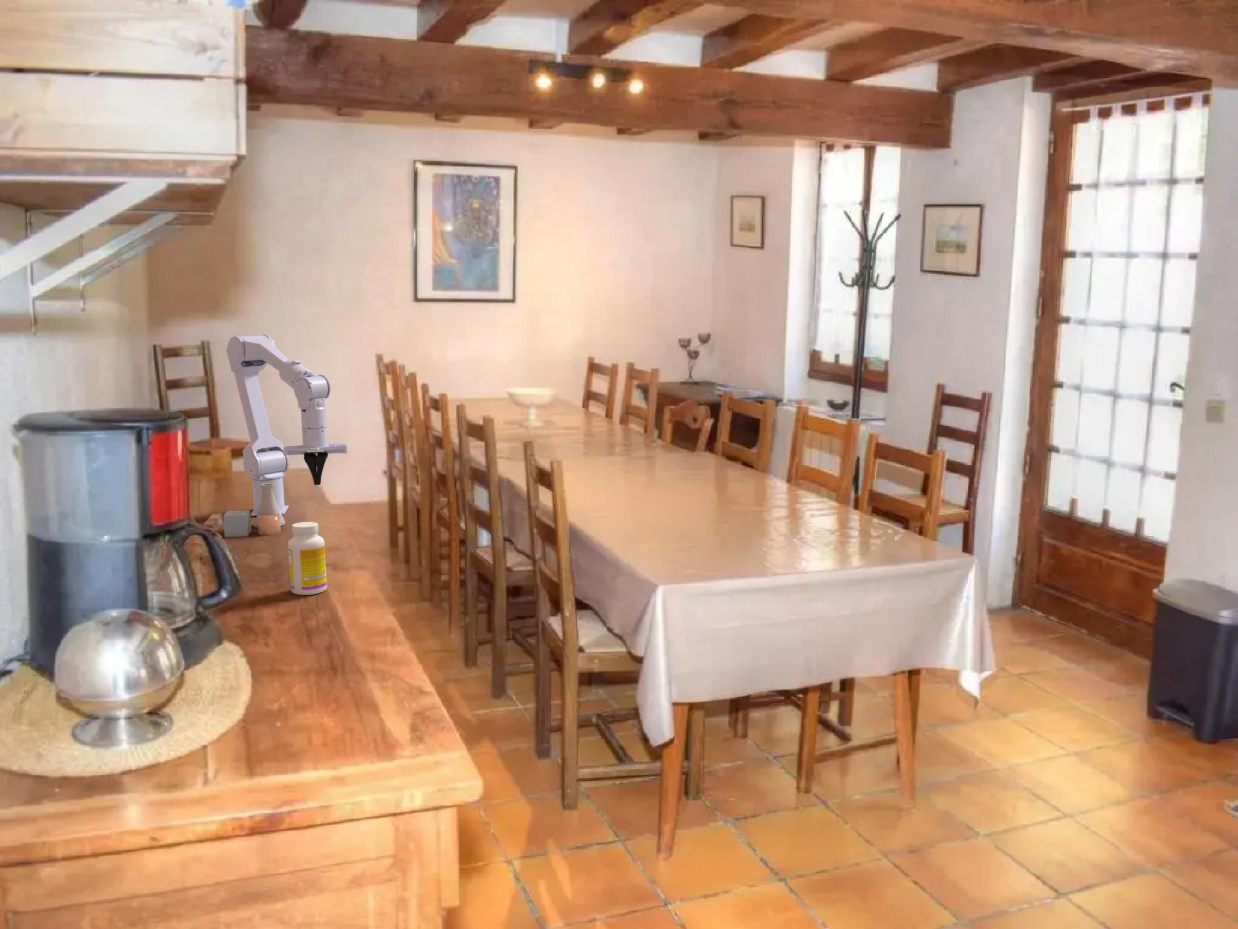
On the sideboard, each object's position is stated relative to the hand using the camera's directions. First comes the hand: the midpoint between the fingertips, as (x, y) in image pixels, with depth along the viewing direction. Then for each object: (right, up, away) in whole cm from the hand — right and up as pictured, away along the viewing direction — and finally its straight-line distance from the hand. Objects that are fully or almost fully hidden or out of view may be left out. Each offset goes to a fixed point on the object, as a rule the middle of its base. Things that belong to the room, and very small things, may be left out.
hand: (317, 484), depth 267 cm
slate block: (-16, -11, -8) cm, 21 cm away
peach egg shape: (-9, -11, -7) cm, 16 cm away
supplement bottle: (+13, -19, -55) cm, 60 cm away
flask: (-11, -10, 0) cm, 15 cm away
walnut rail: (-23, -11, -4) cm, 26 cm away
